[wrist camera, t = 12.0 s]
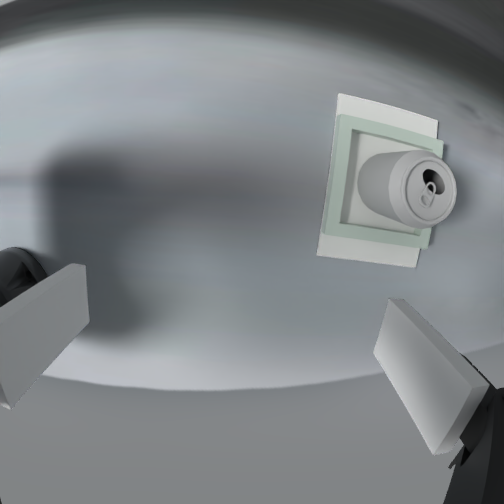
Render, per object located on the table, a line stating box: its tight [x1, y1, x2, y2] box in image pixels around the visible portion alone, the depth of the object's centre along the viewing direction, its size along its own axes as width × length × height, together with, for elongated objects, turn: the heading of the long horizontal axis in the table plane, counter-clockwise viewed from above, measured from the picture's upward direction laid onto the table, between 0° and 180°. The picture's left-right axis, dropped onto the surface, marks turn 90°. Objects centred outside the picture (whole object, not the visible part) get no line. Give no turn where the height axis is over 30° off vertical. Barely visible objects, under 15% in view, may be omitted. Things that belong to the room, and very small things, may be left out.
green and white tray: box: [316, 93, 444, 268], centre depth 35 cm, size 14×20×2 cm
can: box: [357, 150, 457, 229], centre depth 30 cm, size 8×8×12 cm
